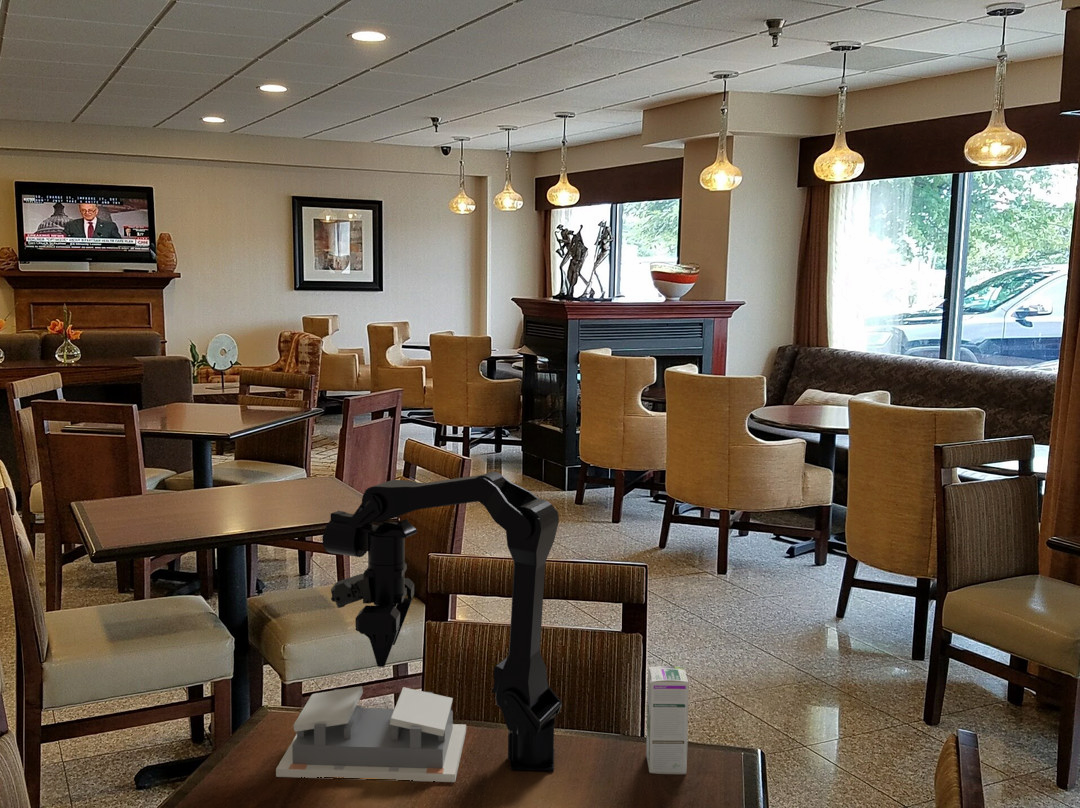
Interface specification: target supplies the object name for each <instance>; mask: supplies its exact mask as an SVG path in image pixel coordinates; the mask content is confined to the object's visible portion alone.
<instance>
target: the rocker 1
mask: <svg viewBox="0 0 1080 808" xmlns="http://www.w3.org/2000/svg"><path fill="white" fill-rule="evenodd" d="M339 689H340V690H329V691H328V690H327V691H322V692H316V693H312V694H311V695H310V697H309V698H308V700H307V702H306V704H305V705H304V706H303V709H302V710H301V712H300V713H299V715H298V717H297V719H296V720H295V722H294V724H293V730H294V732H295V733H297V731H303V730H309V729H314V725H315V724H326V727H328V726H334V725H341V724H347V723H348V722H349V720H350V718H351V716H352V714H353V712H354V710H355V708H356V706H358V703H359V701H360V699H361V698H362V695H363V693H364V689H363V686H362V685H360V686H354V687H348V688H339Z"/></svg>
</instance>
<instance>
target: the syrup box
mask: <svg viewBox="0 0 1080 808" xmlns="http://www.w3.org/2000/svg"><path fill="white" fill-rule="evenodd" d="M646 696H647V701H646V702H647V704H646V706H647V707H646V708H647V709H646V744H645V745H646V748H645V749H646V751H645V754H646V755H645V756H646V761H647V766H648V772H649V773H650V774H659V775H686V774H687V770H688V769H687V767H688V766H687V765H688V764H687V761H688V759H687V758H688V742H689V741H688V738H689V737H688V736H689V735H688V734H689V733H688V729H689V727H688V725H689V680H688V677H687V673H686V669H685V668H684V667H681V666H674V665H673V666H671V665H660V666H659V665H658V666H648V668H647V695H646Z"/></svg>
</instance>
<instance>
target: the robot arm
mask: <svg viewBox="0 0 1080 808" xmlns="http://www.w3.org/2000/svg"><path fill="white" fill-rule="evenodd" d="M477 502H479V503H480V504H481V505H482V506H483V507H485V509H486V510H487V512H488V513H489V515H490V517H491V518H492V519H493V521H494V522H495V523H496V524H497V525H499V527H501V528H502V529H503V530H504V531H505V534H506V535H505V538H506V545H507V549H508V551H509V553H510V556H511V558H512V561H513V578H512V579H513V580H512V594H511V595H512V596H511V612H510V629H509V631H510V632H509V646H508V654H507V656H506V657H505V658H504V659H503V660H501V661H500V662H499V663H498V664H496V665H495V666H494V668H493V678H494V679H493V681H494V683H493V687H492V690H491V694H495V702H496V703H495V704H496V706H497V707H499V708H500V710H501V712H502V715H503V719H504V722H505V725H506V728H507V730H508V735H507V760H508V761H510V765H509V766H510V770H513V771H538V772H539V771H541V772H542V771H543V772H552V771H554V770H555V752H556V751H555V747H554V746H555V717H556V716H557V715H558V714H559V713H560V711H561V708H562V705H563V702H562V700H561V699H560V697H559V696H558V695H557V694H556V693H555V691H554V690H553V689H552V688H551V687H550V685H549V684H548V683H549V682H548V675H547V674H548V673H547V667H546V664H545V661H544V659H543V656H542V655H541V654H542V653H541V638H542V621H543V620H542V619H543V604H544V589H545V588H544V587H545V575H546V574H545V573H546V562H547V559H548V557H549V554H550V552H551V549H552V547H553V545H554V542H555V539H556V535H557V530H558V527H559V523H560V522H559V521H560V518H559V517H560V516H559V515H560V514H559V512H558V510H557V509H556V508H555V507H554V505H553V504H552V503H551V502H549V501H548V500H545V499H543V498H539V497H538V496H537V495H536V494H534V493H533V492H532V491H530V490H528V489H526V488H525V487H522V486H520V485H518V484H516V483H514V482H512V481H511V480H510V479H508V478H506V476H505V475H503V474H502V473H499V472H497V471H489V472H486V473H484V474H478V475H471V476H463V477H457V478H451V479H450V478H449V479H443V480H437V481H436V480H435V481H430V482H417V481H413V480H405V479H403V480H402V479H391V480H388V481H386V482H382V483H379V484H376V485H373V486H370V487H367V488H366V489H365V490H364V493H363V494H362V497H361V503H360V505H359V506H358V508H357V509H356V511H354V513H349V512H346V511H342V510H337V511H334V512H332V513H330V520H329V521H328V522H327V524H326V526H325V527H324V528H325V529H324V532H323V534H322V537H321V538H322V546H323V548H324V550H325V551H326V552H327V553H330V554H334V555H335V554H336V555H342V556H348V557H355V558H362V557H364V555H366V554H367V563H368V564H367V568H366V569H365V570H364V571H363V573H359V574H356V575H354V576H351V577H348V578H347V577H346V578H344V579H341V580H338V581H337V582H335V583H334V585H333V586H332V587H331V588H330V593H331V597H330V600H331V602H333V603H335V604H336V607H337V608H338V609H340V608H344V607H346V606H347V605H349V604H353V603H355V602H358V601H361V600H362V603H363V604H368V605H365V606H364V607H363V608H362V609H361V610H359V612H358V613H357V615H356V616H355V631H357V632H359V633H360V634H361V635H364V636H365V637H367V638H368V639H369V642H370V645H371V648H372V651H373V656H374V658H375V659H374V660H375V662H376V666H377V667H378V668H384V667H385V666H386V664H387V661H388V658H389V657H390V653H391V650H392V648H393V646H395V645H396V643H397V640H398V637H399V635H400V633H401V630H402V627H403V624H404V622H405V619H406V617H407V614H408V612H409V609H410V607H411V605H412V602H413V597H414V595H415V583H414V582H413V581H412V580H411V579H410V578H409V577H405V573H406V571H407V569H408V565H407V562H406V561H405V559H406V558H405V557H406V556H405V553H406V552H405V547H406V545H405V541H406V540H405V539H406V538H408V537H410V536H413V535H415V534H417V533H418V529H417V528H416V527H415V526H413V525H412V524H411V523H410V522H409V520H408V519H407V518H405V519H403V520H399V521H398V522H391V521H389V520H393V519H395V518H398V517H401V516H403V515H406V514H409V513H411V512H415V511H417V510H424V509H432V508H441V507H447V506H455V505H462V504H469V503H477ZM373 523H376V524H373ZM377 523H378V524H377ZM379 523H380V524H379ZM406 596H407V597H406ZM369 604H373V605H369Z"/></svg>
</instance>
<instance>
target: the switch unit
mask: <svg viewBox="0 0 1080 808" xmlns="http://www.w3.org/2000/svg"><path fill="white" fill-rule="evenodd" d="M340 689H341V688H335V689H334V690H340ZM334 690H333V691H334ZM427 692H428V693H432V694H434V692H433V691H427ZM394 709H395V708H383V707H382V708H380V707H378V708H377V707H363V706H362V705H357V706H356V708H355V710H354V712H353V714H352V716H351V718H350V720H349V722H348V723H347V724H341V725H334V726H328V727H326V724H315V725H314V729H309V730H303V731H296V734H295V736H294V738H293V740H292V742H290V744H289V746H288V748H287V750H286V751H285V753H284V755H283V757H282V758H281V760H280V762H279V764H278V765H277V766H276V769H275V777H277V778H301V777H302V778H304V777H305V778H307V779H325V778H324V777H337V778H338V777H340V778H341V777H344V778H378V779H381V778H382V779H396V780H395V781H398V780H410V781H409V782H431V783H432V782H433V781H435V783H442V782H443V783H456V779H457V775H458V771H459V765H460V762H461V756H462V753H463V748H464V743H465V738H466V734H467V724H463V723H461V724H457V723H454V722H453V721H454V720H453V718H454V716H453V715H454V710H452V708H451V709H450V712H449V716H448V720H447V724H446V727H445V731H444V735H443V736H439V735H435V734H430V733H426V732H422V727H410V729H408V728H403V727H399V726H394V725H390V721H391V717H392V714H393V712H394ZM317 777H319V778H317ZM320 777H322V778H320ZM411 780H413V781H411ZM433 783H434V782H433Z"/></svg>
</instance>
